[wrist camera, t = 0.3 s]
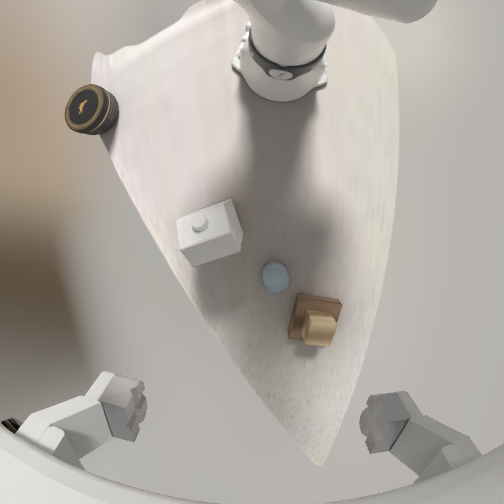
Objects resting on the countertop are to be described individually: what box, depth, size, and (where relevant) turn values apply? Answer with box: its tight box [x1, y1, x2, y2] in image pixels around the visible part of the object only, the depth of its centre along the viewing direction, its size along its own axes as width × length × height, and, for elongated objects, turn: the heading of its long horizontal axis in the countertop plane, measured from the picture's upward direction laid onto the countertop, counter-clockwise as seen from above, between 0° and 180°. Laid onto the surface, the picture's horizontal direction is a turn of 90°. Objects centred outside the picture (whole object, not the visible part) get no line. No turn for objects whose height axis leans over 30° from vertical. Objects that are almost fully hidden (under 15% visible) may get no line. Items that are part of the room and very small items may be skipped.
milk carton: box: [176, 199, 243, 267], centre depth 44 cm, size 7×7×19 cm
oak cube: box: [301, 310, 337, 347], centre depth 53 cm, size 5×5×5 cm
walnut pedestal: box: [288, 293, 342, 340], centre depth 56 cm, size 9×9×3 cm
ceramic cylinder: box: [262, 261, 290, 293], centre depth 53 cm, size 5×5×5 cm
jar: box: [65, 84, 118, 135], centre depth 44 cm, size 10×10×8 cm
